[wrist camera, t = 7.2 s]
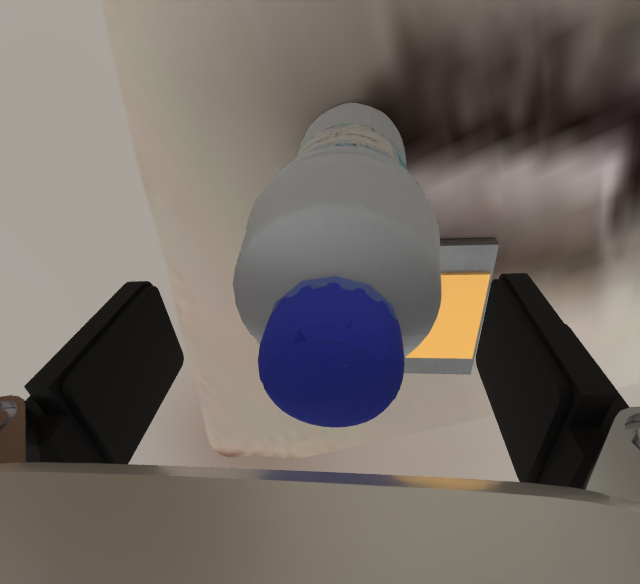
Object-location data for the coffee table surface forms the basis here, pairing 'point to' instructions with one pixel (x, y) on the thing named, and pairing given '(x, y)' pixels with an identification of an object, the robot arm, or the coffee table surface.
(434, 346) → the pad
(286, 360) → the bottle
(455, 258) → the panel
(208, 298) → the coffee table surface
